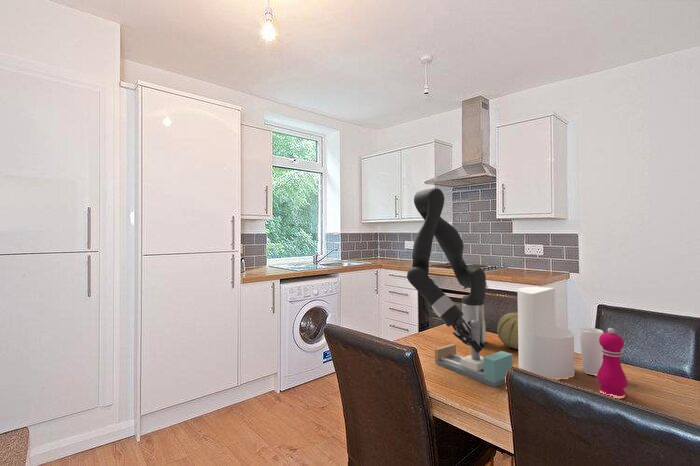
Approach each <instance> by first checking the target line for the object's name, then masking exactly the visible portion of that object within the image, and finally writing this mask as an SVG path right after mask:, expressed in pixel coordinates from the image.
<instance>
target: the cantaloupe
mask: <svg viewBox="0 0 700 466" xmlns="http://www.w3.org/2000/svg"><path fill="white" fill-rule="evenodd" d="M496 332H497V335H498V338H499V340H500V341H501V342H502V343H503V344H504V345H505V346H506V347H508V348H511V349H515V350H518V312H508V313H506V314H504V315H503V316H502V317H501V318H500V319H499V320H498V322H497V326H496Z"/></svg>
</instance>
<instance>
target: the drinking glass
mask: <svg viewBox="0 0 700 466" xmlns="http://www.w3.org/2000/svg"><path fill="white" fill-rule="evenodd" d="M603 333H605V332H604V331H603V330H602V329H599V328H595V327H594V328H593V327H581V328H580V329H579V343H580V345H579V346H580V353H581V361H582V372H583V371H584V372H586V373H590V374H598V371H599V369H600V367H601V365H602V363H603V354H602V353H601V351H602V350H601V348H603V347H602V346H601V345H600V343H599V337H600V336H601V335H602V334H603ZM584 372H583V373H584Z"/></svg>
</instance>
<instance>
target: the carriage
mask: <svg viewBox="0 0 700 466" xmlns="http://www.w3.org/2000/svg"><path fill="white" fill-rule="evenodd" d="M470 326H471V336H472V337H473V338H474V341H476V342H477V343H478V344H479V345H480V322H479V321H477V320H472V321H471V322H470ZM470 347H471V348H470V349H471V354H469V355H467V356H462V357H463V358H460V365H462V366H465V367H467V368H470V369H473V370H475V371H479V370H482V369H484V367H483V357H484V356H482V355H481V351H480V352H479V353H477V352H476V351H475V350H474V349H473V347H472V346H471V345H470Z"/></svg>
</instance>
